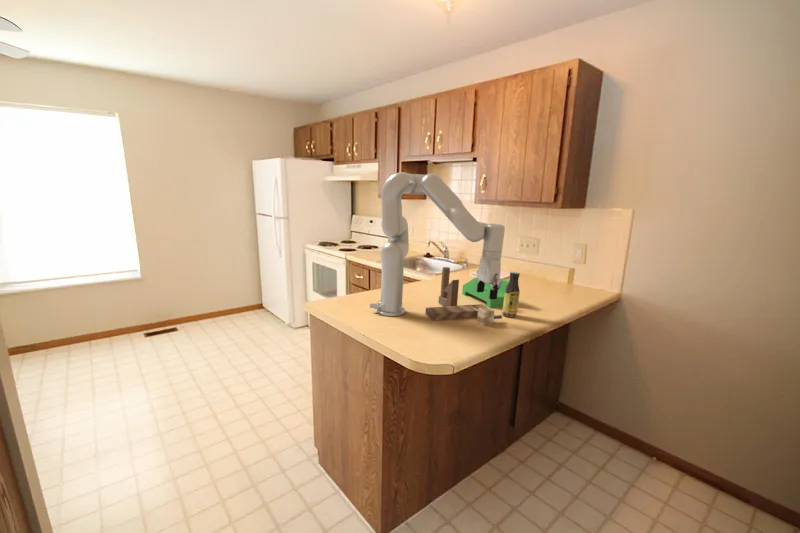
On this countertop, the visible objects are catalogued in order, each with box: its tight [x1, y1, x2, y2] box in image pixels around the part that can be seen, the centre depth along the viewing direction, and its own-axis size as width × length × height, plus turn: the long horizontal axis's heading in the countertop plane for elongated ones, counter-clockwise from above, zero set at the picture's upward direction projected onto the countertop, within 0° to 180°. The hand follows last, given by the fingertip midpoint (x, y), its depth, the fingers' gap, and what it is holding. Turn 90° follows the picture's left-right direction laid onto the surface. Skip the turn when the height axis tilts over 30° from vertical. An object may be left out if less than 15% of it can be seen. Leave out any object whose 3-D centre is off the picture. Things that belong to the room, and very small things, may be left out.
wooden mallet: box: [438, 266, 460, 307], centre depth 167 cm, size 4×11×18 cm, turn 26°
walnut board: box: [424, 303, 487, 321], centre depth 156 cm, size 28×8×3 cm, turn 108°
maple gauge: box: [476, 306, 503, 326], centre depth 149 cm, size 10×4×6 cm, turn 108°
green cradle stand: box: [461, 277, 510, 309], centre depth 181 cm, size 24×13×12 cm, turn 23°
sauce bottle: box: [501, 271, 521, 318], centre depth 157 cm, size 7×6×20 cm
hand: (486, 295), depth 146 cm, fingers open, 9 cm apart
